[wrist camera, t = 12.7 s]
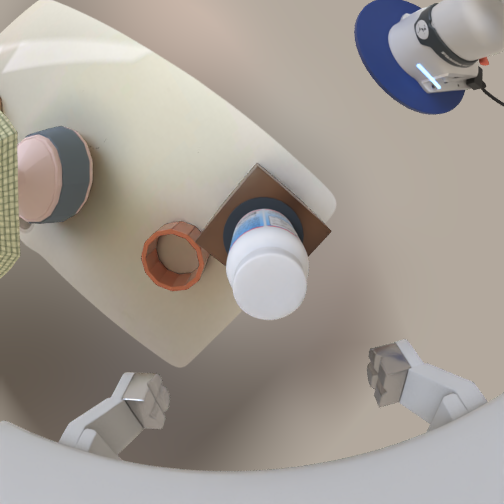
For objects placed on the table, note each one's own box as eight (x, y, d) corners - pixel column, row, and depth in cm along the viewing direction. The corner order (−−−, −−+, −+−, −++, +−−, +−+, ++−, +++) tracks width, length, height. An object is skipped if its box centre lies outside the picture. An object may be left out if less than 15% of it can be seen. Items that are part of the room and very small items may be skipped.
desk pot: (202, 217, 47) (195, 224, 42) (214, 273, 51) (209, 286, 46) (146, 227, 48) (134, 235, 43) (161, 280, 51) (151, 293, 46)
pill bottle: (239, 270, 29) (229, 335, 18) (229, 212, 27) (211, 249, 16) (297, 262, 28) (319, 323, 18) (291, 203, 26) (315, 235, 16)
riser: (302, 201, 46) (331, 231, 28) (263, 244, 49) (268, 298, 30) (257, 162, 44) (257, 165, 26) (218, 208, 47) (194, 242, 28)
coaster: (318, 232, 28) (319, 233, 27) (267, 287, 30) (267, 289, 29) (258, 180, 26) (258, 180, 26) (207, 241, 28) (206, 242, 28)
